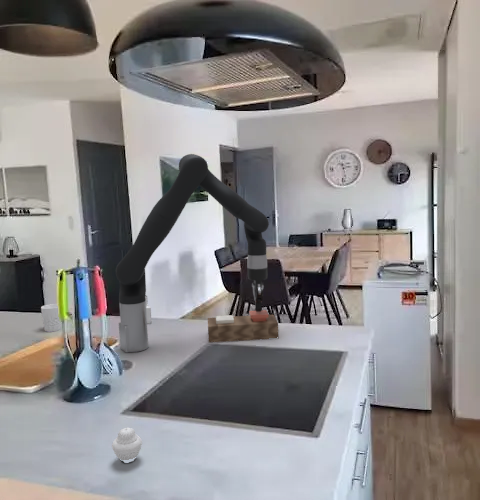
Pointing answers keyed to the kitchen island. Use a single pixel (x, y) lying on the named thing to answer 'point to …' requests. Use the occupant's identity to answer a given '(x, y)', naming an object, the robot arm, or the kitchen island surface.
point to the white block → (224, 319)
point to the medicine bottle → (148, 312)
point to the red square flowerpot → (258, 315)
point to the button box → (242, 329)
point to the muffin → (127, 444)
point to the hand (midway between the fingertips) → (258, 311)
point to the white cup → (50, 317)
